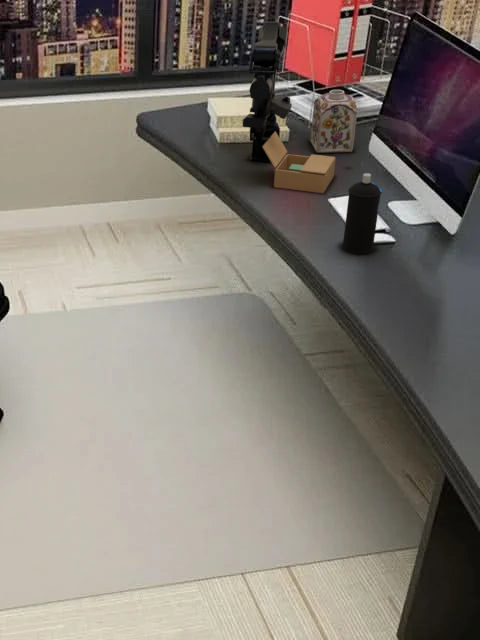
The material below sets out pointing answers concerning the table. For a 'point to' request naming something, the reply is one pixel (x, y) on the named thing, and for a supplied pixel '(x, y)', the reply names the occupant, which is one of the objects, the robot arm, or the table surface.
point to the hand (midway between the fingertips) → (259, 141)
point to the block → (296, 168)
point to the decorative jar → (333, 122)
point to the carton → (312, 180)
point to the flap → (274, 149)
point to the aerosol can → (361, 216)
